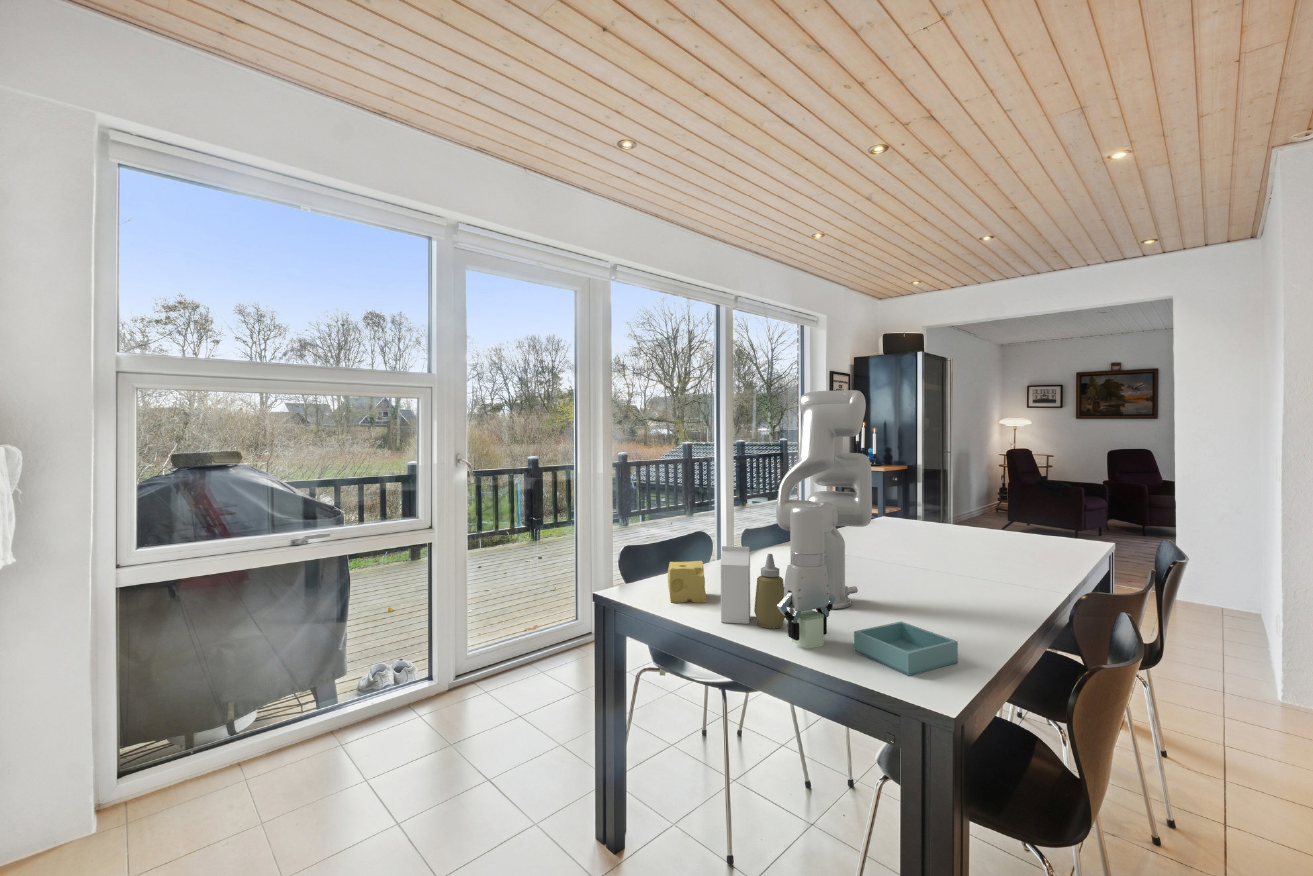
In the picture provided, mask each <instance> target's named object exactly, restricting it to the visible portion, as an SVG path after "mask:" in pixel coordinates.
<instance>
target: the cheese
mask: <svg viewBox="0 0 1313 876" xmlns="http://www.w3.org/2000/svg"><path fill="white" fill-rule="evenodd" d="M667 569H668V570H667V584H668V585H667V586H668V591H669V599H670V600H669V601H670V603H673V604H675V603H687V602H691V603H693V604H694V603H695V604H697V603H698V604H701V603H702V604H703V603H704V604H705V603H706V599H707V593H706V579H705V570H704V569H705V568H704V562H703V561H702V560H694V561H669V564H668V568H667Z"/></svg>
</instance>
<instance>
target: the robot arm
mask: <svg viewBox="0 0 1313 876" xmlns="http://www.w3.org/2000/svg"><path fill="white" fill-rule="evenodd" d="M864 395H865V394H863V393H862V392H861V391H860V390H856V389H854V390H853V389H850V390H848V389H846V390H844V389H843V390H820V391H819V390H817V391H810V392H806V393H803V394H802V395H801V396H800V398H799V401H798V402H799V409H800V413H801V415H802V418H801V429H800V430H801V431H800V440H799V441H800V443H799V444H800V445H799V457H798V460H797V462H796V463H794V465H793V466H791V467H790V468H789V470H788V471H787V472H786V473H785V474H784V476H783V478H782V480H781V481H780V484H779V486H778V491H777V501H776V510H775V512H776V513H775V516H776V517H775V519H776V523H777V525H778V527H779V528H780V529H782V530H784V531H788V532H790V536H789V537H790V540H789V541H790V545H789V547H790V564H788V565H787V566H786V572H785V577H784V598H783V599H782V601H781V602H780V603H779V604H778V605H777V607H778V609H779V610H780V612H781V613H782V615H783V616H784V617H785V619H784V620H786V621H787V637H789V638H790V639H791V640H792V639H794V640H796V641H797V640H799V623H798V622H797V620H798V618H799V615H800V613H801V611H807V610H815V611H816V612H818V613H821V614H823V615H824V617H823V635H825V636H826V635H827V634H828V625H827V624H828V621H827V620H828V617H830V612H831V611H832V609H833V610H835V609H838V610H839V609H845V608H848V607H850V606H851V605H852V600H851V598H850V597H849V595H850V594H856V593H858V592H859V591H858V587H857V586H855V585H854V586H847V585H846V543H845V538H844V537H843V535H842V533H841V532H840V531H839V530H838V529H837V527H858V528H860V527H861V528H863V527H867V526H868V525H870V523H871V522H872V516H873V491H872V490H873V489H872V487H873V485H872V484H873V479H872V465H871V461H870V459H869V456H867V455H866V454H864V453H859V452H845V451H844V446H843V445H844V438H845V437H849V438H851V437H856V436H858V435H859V434H860V432H861V430H862V427H863V423H864V418H865V413H866V409H867V408H866V405H867V403H866V398H865V396H864ZM811 477H812V480H813V483H815V484H816V485H817V486H822V487H831V488H832V487H834V488H839V487H840V488H851V489H853V490H854V491H835V490H834V491H831V490H830V491H829V490H822V491H821V490H820V491H816V492H815V491H814V492H813V493H812V492H811V494H810V495H808V498H807V499H806V500H804V499H800V500H799V499H791V495H792V492H793V490H794V488H795V487H796V486H797V485H798V484H800V483H801V482H802V481H804V480H806V479H809V478H811ZM794 611H795V613H794V615H792V614H793V612H794Z"/></svg>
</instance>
